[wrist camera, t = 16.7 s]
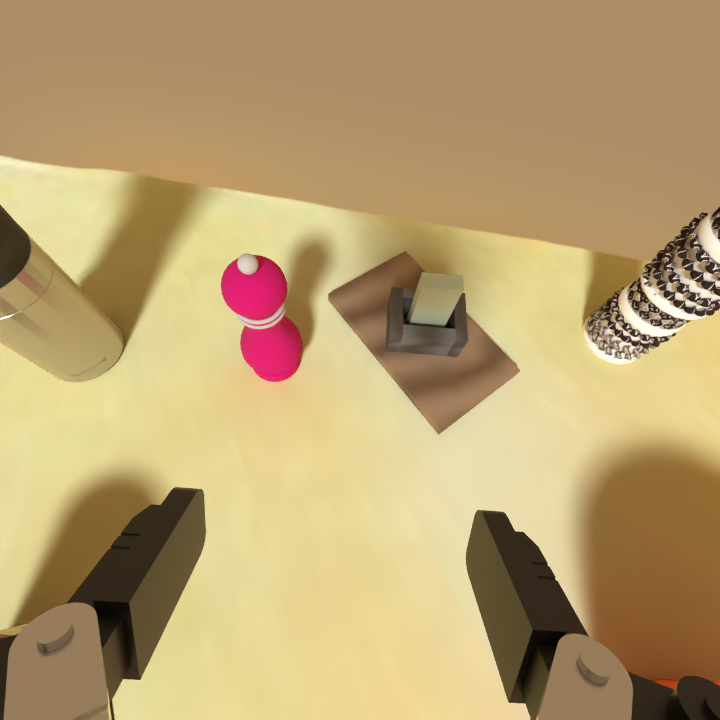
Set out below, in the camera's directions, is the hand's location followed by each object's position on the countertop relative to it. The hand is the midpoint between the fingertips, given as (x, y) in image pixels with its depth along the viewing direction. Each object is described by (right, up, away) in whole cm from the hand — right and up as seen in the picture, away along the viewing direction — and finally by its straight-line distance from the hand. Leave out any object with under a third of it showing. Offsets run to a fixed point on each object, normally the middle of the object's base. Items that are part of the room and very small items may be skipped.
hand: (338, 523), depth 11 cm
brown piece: (+9, +8, +42) cm, 44 cm away
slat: (+9, +9, +41) cm, 42 cm away
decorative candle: (+37, +8, +44) cm, 58 cm away
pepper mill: (-10, +5, +39) cm, 41 cm away
